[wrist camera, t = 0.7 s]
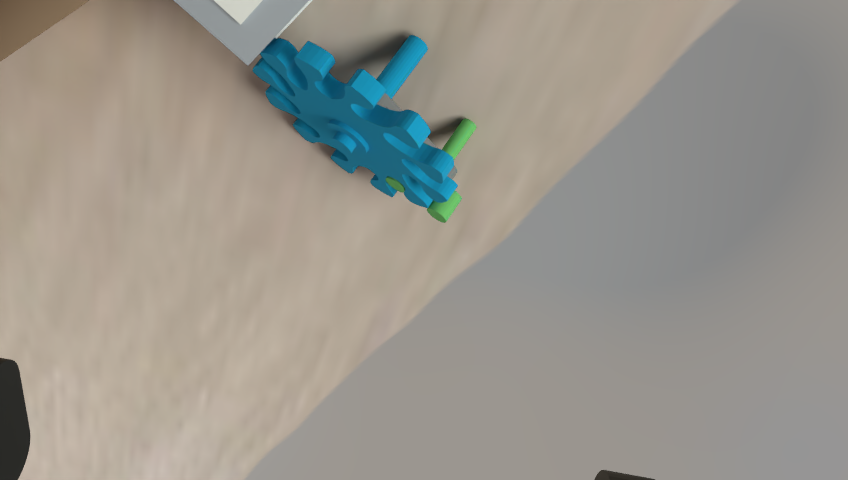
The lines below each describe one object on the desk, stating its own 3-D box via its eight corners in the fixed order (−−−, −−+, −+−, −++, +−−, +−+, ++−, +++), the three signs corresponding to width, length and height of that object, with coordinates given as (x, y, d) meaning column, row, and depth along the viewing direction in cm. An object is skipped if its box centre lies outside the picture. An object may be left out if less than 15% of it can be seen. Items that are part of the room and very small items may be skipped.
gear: (211, 69, 35) (310, 56, 27) (290, -27, 37) (407, -67, 29) (375, 219, 41) (498, 246, 33) (438, 131, 43) (571, 136, 34)
